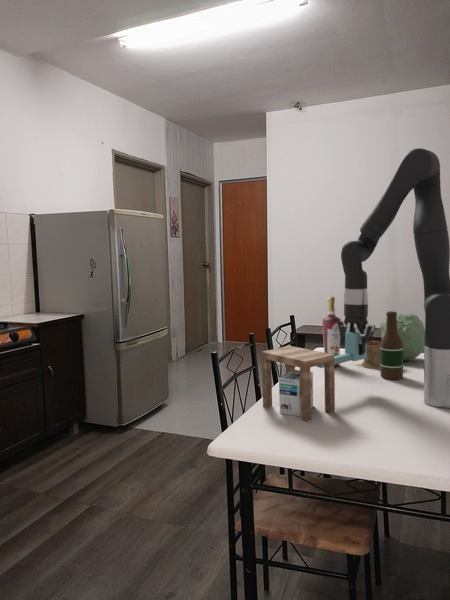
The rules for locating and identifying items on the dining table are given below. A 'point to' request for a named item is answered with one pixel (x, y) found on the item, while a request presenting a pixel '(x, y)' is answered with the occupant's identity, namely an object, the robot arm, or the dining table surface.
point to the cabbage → (408, 334)
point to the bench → (304, 361)
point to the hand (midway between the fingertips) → (355, 353)
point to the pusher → (349, 350)
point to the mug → (372, 355)
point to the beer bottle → (391, 350)
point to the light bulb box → (292, 392)
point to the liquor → (331, 331)
